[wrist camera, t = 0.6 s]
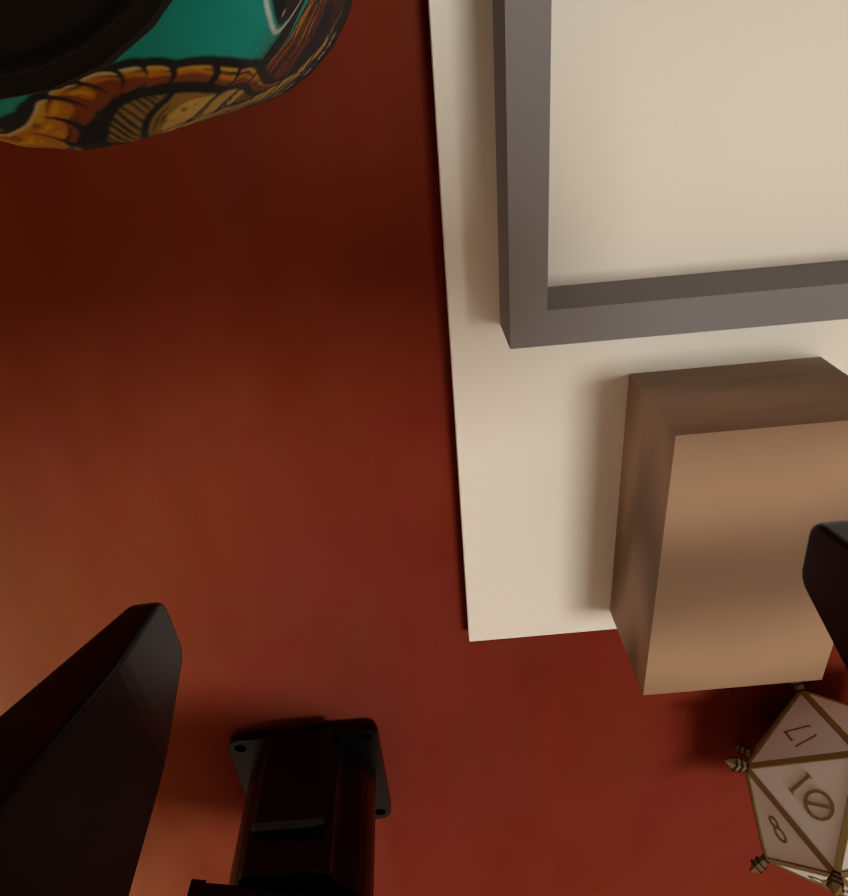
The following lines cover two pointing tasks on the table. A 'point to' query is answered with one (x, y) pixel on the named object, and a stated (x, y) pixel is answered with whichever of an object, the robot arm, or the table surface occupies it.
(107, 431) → the table surface
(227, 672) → the table surface
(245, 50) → the beverage can
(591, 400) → the mat
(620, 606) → the card box
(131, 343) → the table surface
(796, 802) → the game die
